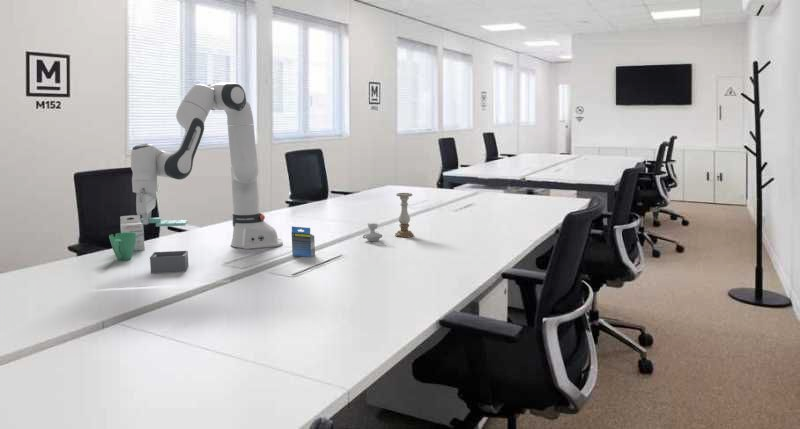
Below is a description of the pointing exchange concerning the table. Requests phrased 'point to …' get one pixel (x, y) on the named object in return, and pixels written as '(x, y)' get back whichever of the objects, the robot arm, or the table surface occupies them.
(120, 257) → the mug
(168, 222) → the lid
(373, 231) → the grey oil lamp
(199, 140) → the robot arm
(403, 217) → the candle holder
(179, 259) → the tub
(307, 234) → the label tape box
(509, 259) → the table surface
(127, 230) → the ink box
